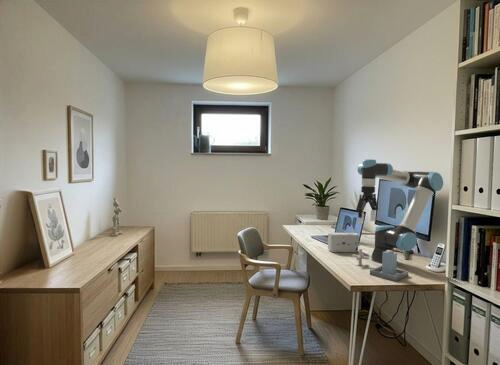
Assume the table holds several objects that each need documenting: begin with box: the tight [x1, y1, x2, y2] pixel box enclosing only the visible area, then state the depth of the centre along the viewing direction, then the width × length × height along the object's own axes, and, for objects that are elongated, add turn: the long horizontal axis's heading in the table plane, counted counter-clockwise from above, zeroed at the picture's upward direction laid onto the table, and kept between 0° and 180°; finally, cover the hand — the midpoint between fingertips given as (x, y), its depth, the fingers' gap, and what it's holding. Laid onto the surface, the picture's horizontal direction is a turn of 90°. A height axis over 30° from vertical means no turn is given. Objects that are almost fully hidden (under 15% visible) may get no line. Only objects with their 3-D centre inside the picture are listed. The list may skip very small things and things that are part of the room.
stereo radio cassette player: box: [327, 224, 360, 253], centre depth 240 cm, size 21×8×20 cm, turn 94°
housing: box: [369, 265, 409, 282], centre depth 188 cm, size 15×15×2 cm
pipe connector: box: [351, 248, 370, 266], centre depth 207 cm, size 10×10×10 cm
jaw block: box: [381, 250, 398, 276], centre depth 188 cm, size 5×6×13 cm
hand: (366, 222), depth 195 cm, fingers open, 13 cm apart
